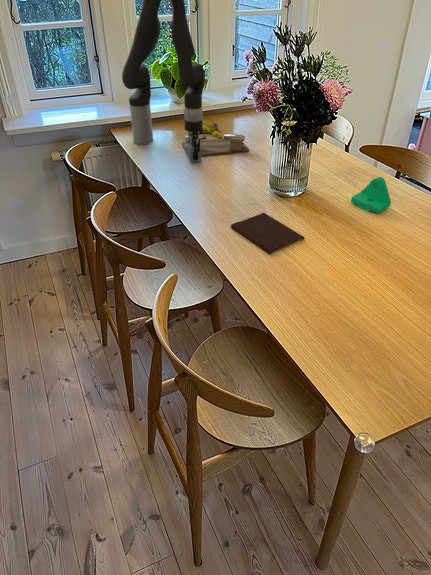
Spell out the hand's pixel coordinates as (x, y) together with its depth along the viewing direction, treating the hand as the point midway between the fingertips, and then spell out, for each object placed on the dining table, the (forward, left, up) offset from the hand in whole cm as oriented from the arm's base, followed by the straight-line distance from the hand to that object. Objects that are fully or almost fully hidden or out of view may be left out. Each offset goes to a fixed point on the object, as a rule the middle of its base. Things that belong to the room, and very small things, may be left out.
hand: (194, 157), depth 194 cm
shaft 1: (-11, +3, +3) cm, 12 cm away
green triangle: (+56, +54, -2) cm, 77 cm away
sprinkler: (-31, +13, -2) cm, 33 cm away
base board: (-11, +12, -1) cm, 16 cm away
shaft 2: (-7, +20, +3) cm, 22 cm away
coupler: (0, 0, -1) cm, 1 cm away
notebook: (+65, +11, -2) cm, 66 cm away
